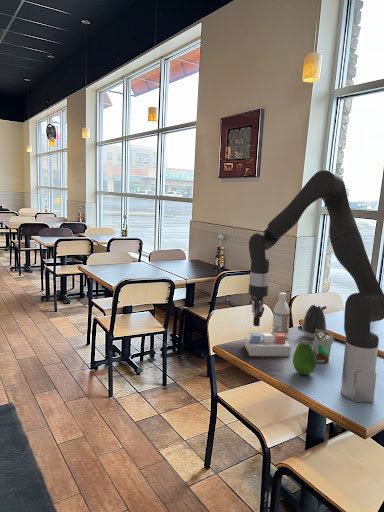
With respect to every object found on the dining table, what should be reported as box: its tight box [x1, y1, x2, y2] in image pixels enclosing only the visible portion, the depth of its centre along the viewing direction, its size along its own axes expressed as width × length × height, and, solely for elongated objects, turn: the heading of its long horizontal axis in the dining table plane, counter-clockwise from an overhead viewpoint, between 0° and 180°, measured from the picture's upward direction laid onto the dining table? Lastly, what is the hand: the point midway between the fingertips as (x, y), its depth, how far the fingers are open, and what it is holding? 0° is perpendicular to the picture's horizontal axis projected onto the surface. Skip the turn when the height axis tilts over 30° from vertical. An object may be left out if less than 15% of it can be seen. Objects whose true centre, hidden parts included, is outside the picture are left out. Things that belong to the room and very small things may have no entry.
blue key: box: [249, 332, 262, 343], centre depth 148 cm, size 3×3×4 cm
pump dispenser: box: [301, 304, 327, 340], centre depth 164 cm, size 10×10×15 cm
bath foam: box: [271, 292, 291, 340], centre depth 164 cm, size 7×7×20 cm
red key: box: [274, 333, 287, 344], centre depth 149 cm, size 3×3×4 cm
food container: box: [313, 329, 334, 365], centre depth 142 cm, size 12×6×10 cm, turn 168°
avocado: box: [292, 340, 317, 376], centre depth 129 cm, size 8×8×12 cm
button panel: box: [244, 336, 292, 357], centre depth 149 cm, size 10×16×4 cm, turn 93°
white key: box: [261, 332, 273, 344], centre depth 149 cm, size 3×3×4 cm
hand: (256, 325), depth 148 cm, fingers closed
